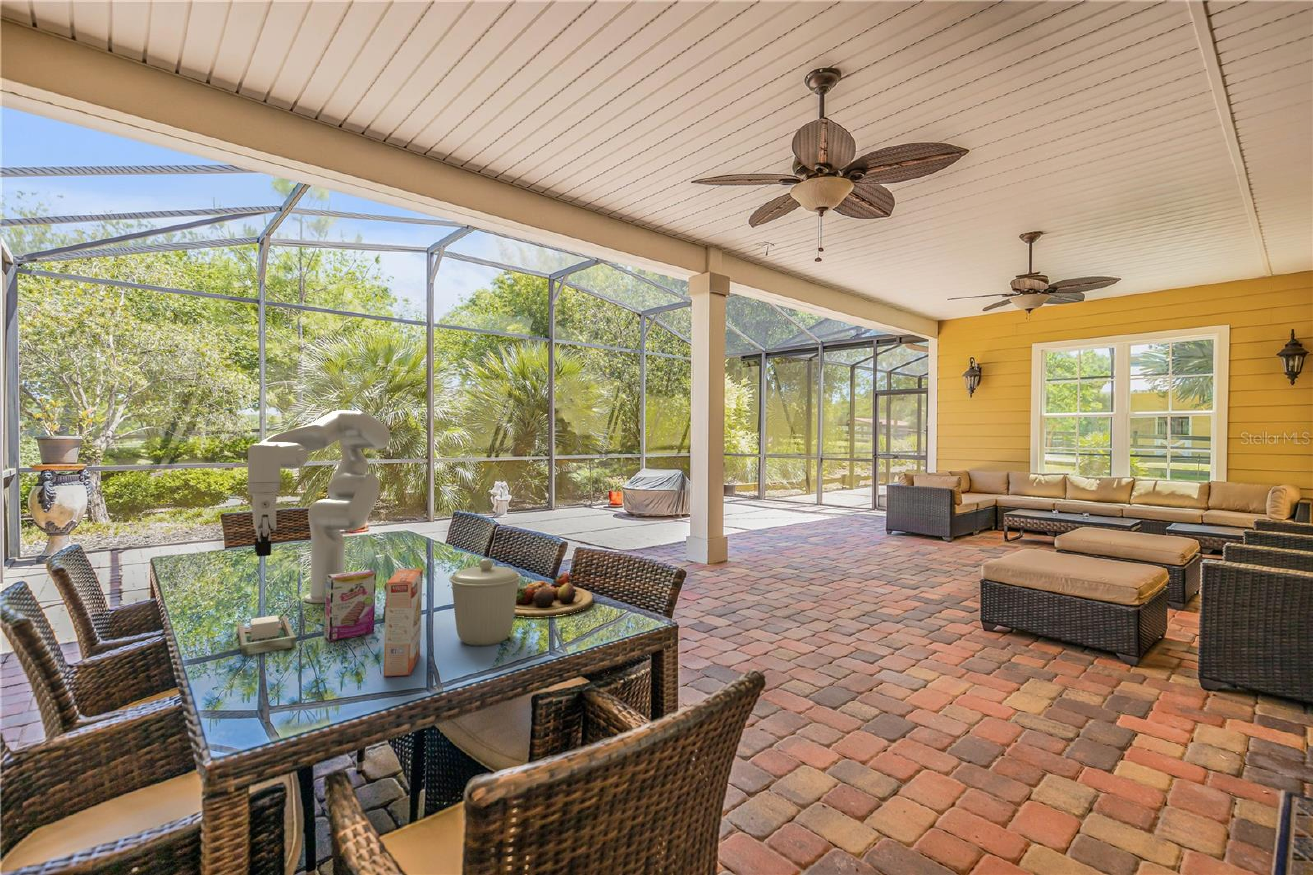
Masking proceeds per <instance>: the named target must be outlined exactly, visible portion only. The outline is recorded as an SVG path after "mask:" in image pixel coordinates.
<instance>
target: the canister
mask: <svg viewBox="0 0 1313 875" xmlns="http://www.w3.org/2000/svg"><path fill="white" fill-rule="evenodd" d="M521 578H522V574H521V573H520V572H518V571H517V570H515V569H513V568H510V567H508V566H507V567H506V566H497V565H494V561H493V560H492V559H491V558H482V559H481V560H480V561H479V562H478V566H472V567H467V568H463V569H461V570H458V571H457V572H455V573H454V574H452V575H451V576H450V577H449V582H450V583H451V586H452V588H451V590H452V598H453V599H452V600H453V610H454V619H455V626H456V627H455V628H456V632H457V637H458V639H460V641H461V642H463V643H464V644H467V645H471V646H490V645H495V644H499V643H501V642H504V641H505V640H506V639H508V638H509V637H510V635H511V633H512V631H513V624H514V618H515V617H514V613H515V606H516V598H517V590H518V588H519V581H520V580H521Z"/></svg>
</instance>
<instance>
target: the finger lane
mask: <svg viewBox="0 0 1313 875" xmlns="http://www.w3.org/2000/svg"><path fill="white" fill-rule="evenodd" d="M280 622H281V623H280ZM280 622H279V629H281V628H283V630H284V633H285V637H278V638H272V639H267V640H266V639H265V640H259V641H258V640H257V641H253V642H247V637H246V633H245V632H248V633H251V629H245V628H244V624H243V621H240V622H239V621H238V622H237V634H238V639H239V640H238V641H239V645H240V650H242V651H241V655H243V656H248V655H255V654H261V653H267V652H274V651H280V650H286V649H291V648H296V647H297V636H296V635H295V632H294V631H293V628H292V627H291V625H290V622H289V620H288V617H287V616H286V615H282V616H281V621H280Z"/></svg>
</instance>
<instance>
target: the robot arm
mask: <svg viewBox="0 0 1313 875" xmlns="http://www.w3.org/2000/svg"><path fill="white" fill-rule="evenodd" d="M337 441H338V442H339V447H340V451H341V461H340V463H339V465H338V467H337V469H336V471H335V472H334V474H333V476H332V478H331V480H330V481H329V484H328V486H327V491H326V492H327V494H328V496H329V498H324V499H319V500H316V501H315V502H313V503H311V505H310V507H309V508H308V511H307V519H308V520H307V521H308V525H309V531H310V546H311V547H310V586H309V587H310V588H309V590H310V593H307V594H305V595H304V602H306V603H312V604H325V599H326V575H330V574H338V573H345V563H346V562H345V561H346V560H345V556H346V552H345V551H346V542H345V538H344V536H343V534H342V532H341V531H356V530H360V529H361V528H363V527H364V526H365V524H366V523H367V521H368V519H369V517H370V515H371V512H372V511H373V508H374V507H375V505H376V503H377V500H378V498H379V495H380V491H381V483H380V480H379V478H378V476H376V475H375V474H373V473H369V472H367V471H368V467H369V462H368V461H367V458H366V456H365V454H364V453H363V451H362V450H363V449H364V450H366V449H367V450H381V449H384V448H386V447H387V446H388V445H389V443H390V442H391V432H390V429H389V428H388V427H387V425H385V424H384V423H382V421H380V420H378V419H377V418H375V417H374V416H372V415H370V414H369V413H367V412H365V411H361V410H335V411H331V412H330V413H327V414H325V415H324V416H322V417H320V418H319V419H317V420H315V421H313V422H311V423H309V424H307V425H304V426H298V427H296V428H293V429H289V430H286V431H282V432H279V433H276V434H273V435H271V436H268V437H267V438H265V439H263V440H262V441H260V442H258V443H253V444H250V445H249V446H248V449H247V453H248V454H247V495H249V496H252V522H253V523H252V524H253V528H254V530H255V537H254V552H255V553H256V557H269V556H271V555H272V540H271V529H272V530H273V531H276V530H277V496H276V495H278V494H280V493H281V469H283V470H295V469H300V468H302V467H303V466H304V465H306V464H307V462H308V460H309V453H311V452H316V451H320V450H324V449H326V448H328V447H329V446H331V445H333V444H334V443H335V442H337Z"/></svg>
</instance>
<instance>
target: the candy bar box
mask: <svg viewBox="0 0 1313 875" xmlns="http://www.w3.org/2000/svg"><path fill="white" fill-rule="evenodd" d="M376 582H377V572H376V571H374V570H371V569H363V570H357V571H356V570H355V571H348V572H346V571H345V572H344V573H338V574H330V575H326V599H325V603H324V606H325V607H324V632H323V633H324V636H323V637H324V638H325V639H326V640H327V641H328V642H331V643H332V642H335V641H340V640H346V639H351V638H355V637H356V638H357V637H359V636H360V637H362V636H366V635H371V634H374V633H375V616H376V614H375V613H376V612H375V610H376V589H377V588H376V585H377V584H376Z"/></svg>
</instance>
